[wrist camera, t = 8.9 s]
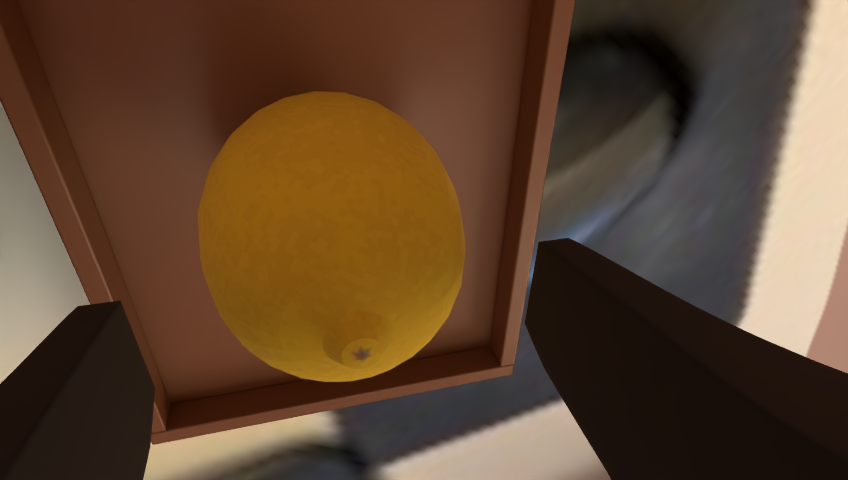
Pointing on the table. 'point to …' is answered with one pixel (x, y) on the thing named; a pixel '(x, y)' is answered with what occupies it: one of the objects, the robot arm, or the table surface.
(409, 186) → the lemon
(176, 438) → the tray
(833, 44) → the table surface
